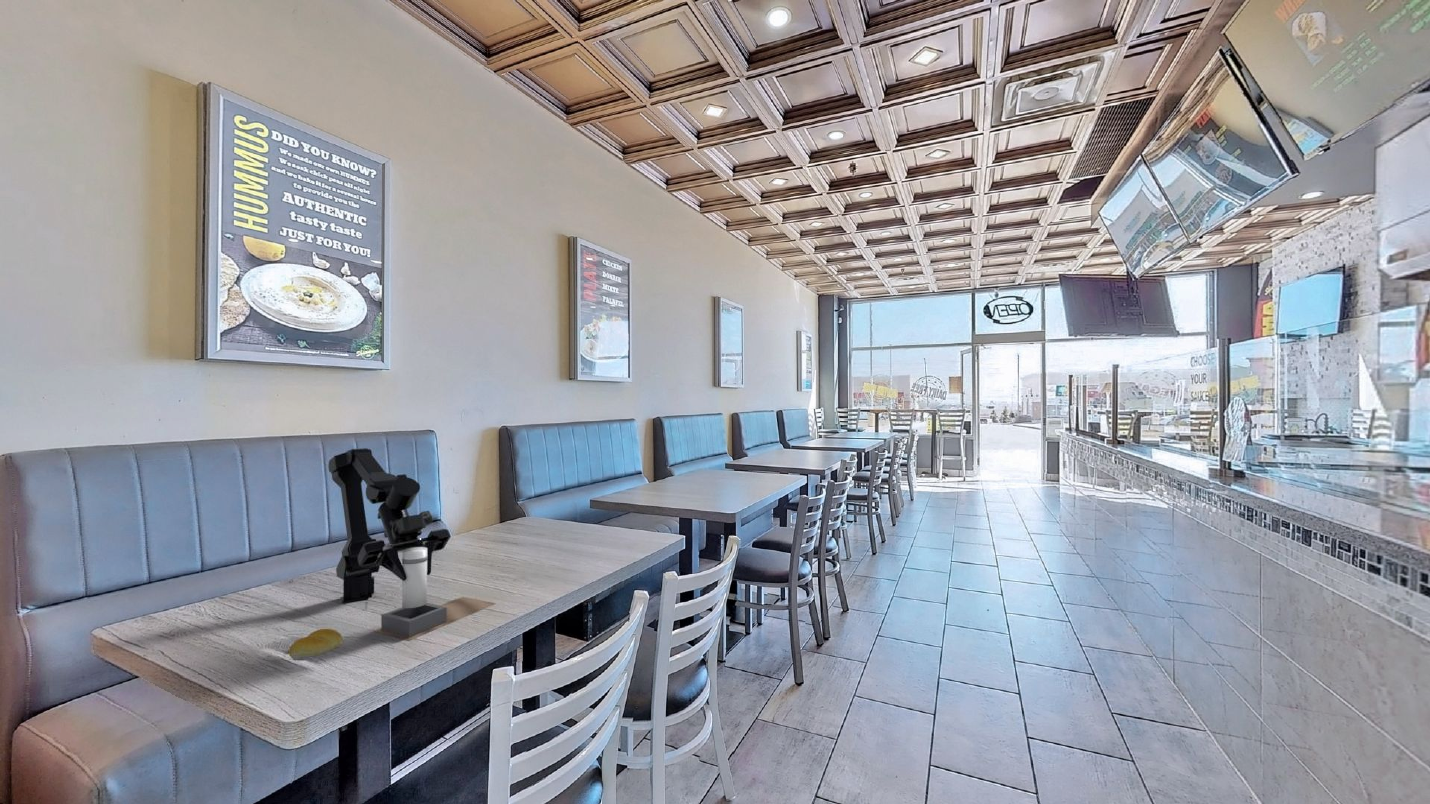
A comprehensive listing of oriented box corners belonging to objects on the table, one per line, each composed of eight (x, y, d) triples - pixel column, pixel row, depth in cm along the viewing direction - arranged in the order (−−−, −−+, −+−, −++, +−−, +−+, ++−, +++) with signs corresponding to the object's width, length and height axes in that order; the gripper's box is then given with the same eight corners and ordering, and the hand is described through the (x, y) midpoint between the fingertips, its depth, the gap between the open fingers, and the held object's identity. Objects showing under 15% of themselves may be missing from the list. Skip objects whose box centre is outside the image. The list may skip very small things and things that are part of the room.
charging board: (408, 644, 115) (408, 640, 115) (373, 634, 120) (373, 631, 120) (496, 606, 137) (496, 603, 137) (462, 599, 142) (462, 596, 142)
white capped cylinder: (398, 608, 120) (398, 553, 120) (406, 600, 125) (407, 547, 125) (422, 607, 121) (423, 552, 121) (430, 599, 126) (430, 546, 126)
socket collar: (409, 638, 117) (409, 622, 117) (381, 630, 121) (381, 614, 121) (446, 622, 125) (446, 607, 125) (419, 615, 129) (419, 601, 129)
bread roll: (279, 660, 108) (279, 641, 108) (318, 641, 117) (318, 623, 117) (313, 664, 107) (313, 644, 107) (351, 644, 116) (351, 626, 116)
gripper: (363, 507, 118) (383, 566, 111) (447, 496, 133) (469, 547, 126) (349, 537, 123) (367, 595, 116) (432, 523, 138) (453, 574, 131)
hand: (417, 576), depth 122 cm, fingers closed on white capped cylinder, 5 cm apart
